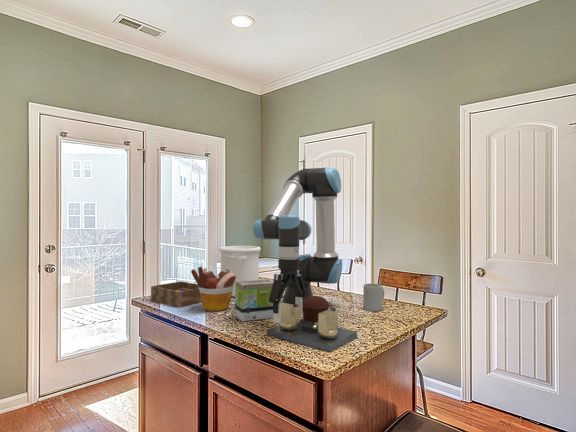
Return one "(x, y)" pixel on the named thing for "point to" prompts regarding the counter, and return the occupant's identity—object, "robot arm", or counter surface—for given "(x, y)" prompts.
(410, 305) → the counter surface
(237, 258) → the bucket
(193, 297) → the book tray
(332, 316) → the knob
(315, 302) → the muffin
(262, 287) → the tea box
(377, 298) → the mug
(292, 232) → the robot arm
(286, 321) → the knob
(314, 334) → the levelling plate
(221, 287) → the bucket of meat
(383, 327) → the counter surface
